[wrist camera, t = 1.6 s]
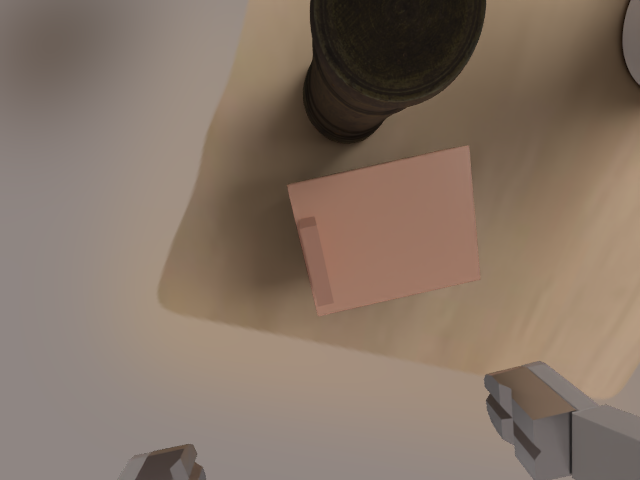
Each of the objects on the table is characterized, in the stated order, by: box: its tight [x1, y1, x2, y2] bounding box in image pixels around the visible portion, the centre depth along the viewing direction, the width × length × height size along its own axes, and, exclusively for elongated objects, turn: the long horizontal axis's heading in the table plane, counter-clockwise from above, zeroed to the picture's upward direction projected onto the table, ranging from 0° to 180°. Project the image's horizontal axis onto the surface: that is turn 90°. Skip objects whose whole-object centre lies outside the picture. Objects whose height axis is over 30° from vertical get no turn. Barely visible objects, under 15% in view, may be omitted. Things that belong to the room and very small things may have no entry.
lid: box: [287, 145, 481, 316], centre depth 24 cm, size 15×12×6 cm
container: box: [303, 0, 486, 143], centre depth 22 cm, size 9×9×18 cm
